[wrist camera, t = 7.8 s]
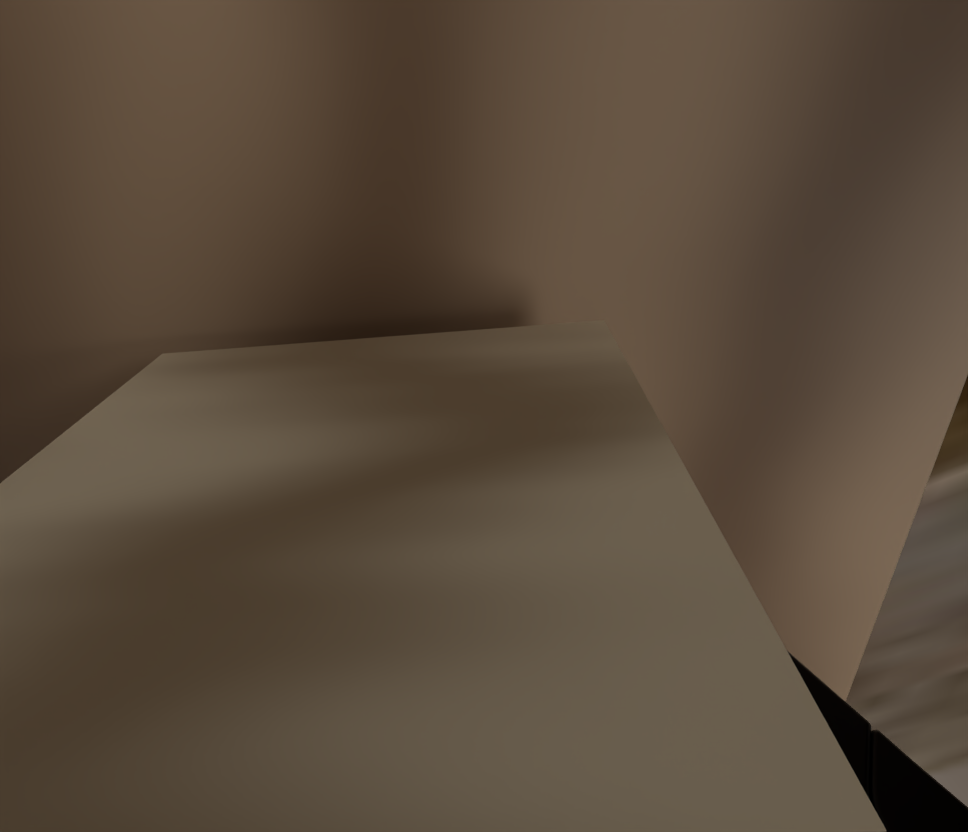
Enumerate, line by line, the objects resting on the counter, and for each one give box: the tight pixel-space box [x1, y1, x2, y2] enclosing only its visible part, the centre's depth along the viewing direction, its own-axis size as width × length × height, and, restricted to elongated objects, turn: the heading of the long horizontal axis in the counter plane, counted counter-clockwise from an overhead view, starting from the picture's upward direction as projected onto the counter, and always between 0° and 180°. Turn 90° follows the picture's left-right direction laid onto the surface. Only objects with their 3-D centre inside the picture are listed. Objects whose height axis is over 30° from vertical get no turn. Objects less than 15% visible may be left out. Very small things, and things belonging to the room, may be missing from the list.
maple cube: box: [0, 320, 886, 832], centre depth 6 cm, size 6×6×6 cm
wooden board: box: [0, 0, 968, 702], centre depth 10 cm, size 18×18×2 cm
